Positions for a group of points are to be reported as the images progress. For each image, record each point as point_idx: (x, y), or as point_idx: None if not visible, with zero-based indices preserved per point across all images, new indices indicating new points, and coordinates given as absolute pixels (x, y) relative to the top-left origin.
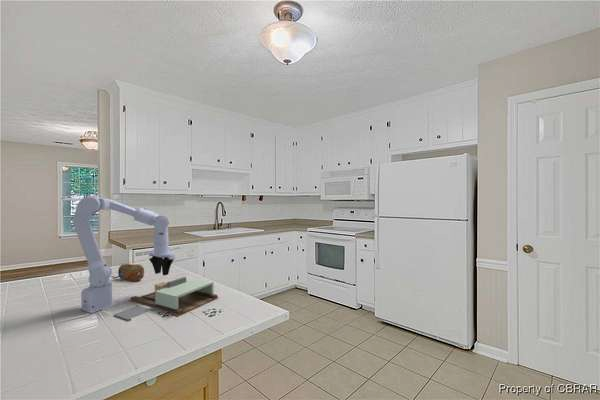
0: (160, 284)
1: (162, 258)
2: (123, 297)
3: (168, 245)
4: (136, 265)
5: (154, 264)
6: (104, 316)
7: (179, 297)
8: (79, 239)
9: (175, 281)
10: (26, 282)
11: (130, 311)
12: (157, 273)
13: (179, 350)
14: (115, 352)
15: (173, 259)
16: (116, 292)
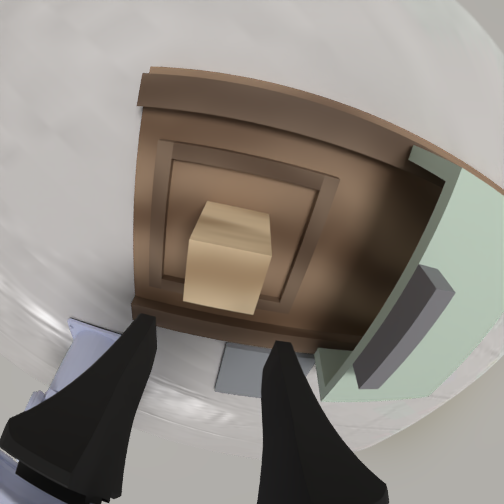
0: (223, 292)
1: (87, 457)
2: (70, 277)
3: None
4: None
5: (127, 439)
6: (191, 389)
7: (363, 240)
8: None
9: (400, 361)
10: None
11: (247, 377)
12: (156, 341)
13: (441, 402)
14: (351, 432)
15: (385, 490)
16: (6, 240)
